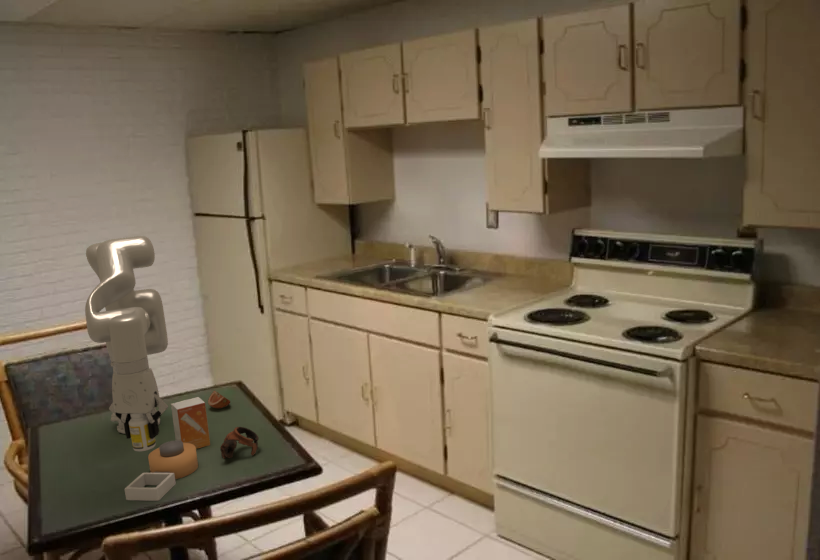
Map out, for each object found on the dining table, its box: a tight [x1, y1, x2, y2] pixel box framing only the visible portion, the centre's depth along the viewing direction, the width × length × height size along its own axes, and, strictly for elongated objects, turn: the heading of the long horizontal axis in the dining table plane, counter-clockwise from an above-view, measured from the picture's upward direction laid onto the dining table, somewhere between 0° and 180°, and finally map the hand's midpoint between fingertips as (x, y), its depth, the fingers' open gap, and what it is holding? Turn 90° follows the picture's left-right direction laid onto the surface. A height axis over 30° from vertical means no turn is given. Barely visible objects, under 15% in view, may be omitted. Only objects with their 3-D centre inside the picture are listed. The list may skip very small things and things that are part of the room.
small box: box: [170, 396, 211, 450], centre depth 207 cm, size 8×6×13 cm
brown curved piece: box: [219, 426, 259, 460], centre depth 199 cm, size 12×10×8 cm
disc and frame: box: [124, 439, 199, 502], centre depth 188 cm, size 12×22×7 cm, turn 170°
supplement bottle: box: [129, 413, 157, 452], centre depth 179 cm, size 5×5×10 cm
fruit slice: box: [207, 390, 231, 409], centre depth 237 cm, size 8×7×5 cm
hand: (142, 435), depth 179 cm, fingers closed on supplement bottle, 5 cm apart
